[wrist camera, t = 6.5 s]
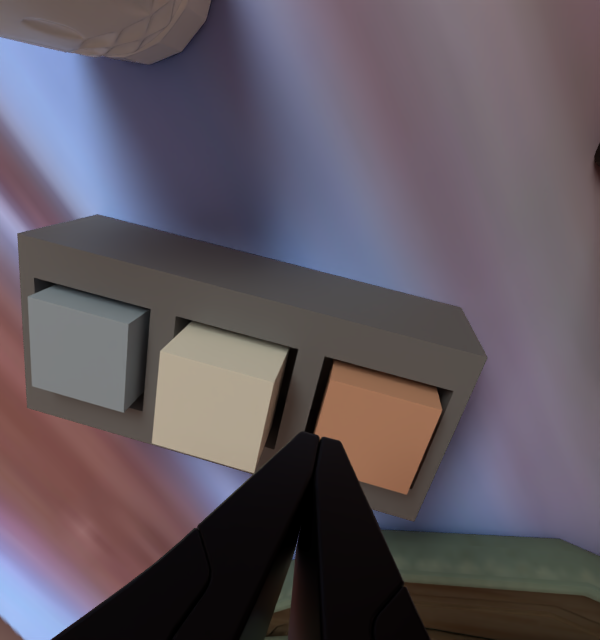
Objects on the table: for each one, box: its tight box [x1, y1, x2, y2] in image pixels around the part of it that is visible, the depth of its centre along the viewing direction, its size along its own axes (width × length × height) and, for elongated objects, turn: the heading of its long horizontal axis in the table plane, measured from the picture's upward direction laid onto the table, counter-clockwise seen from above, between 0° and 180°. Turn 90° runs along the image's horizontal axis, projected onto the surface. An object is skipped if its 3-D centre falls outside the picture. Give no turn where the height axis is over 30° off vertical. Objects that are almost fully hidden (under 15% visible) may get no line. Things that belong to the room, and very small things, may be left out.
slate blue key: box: [28, 284, 151, 413], centre depth 18 cm, size 4×4×3 cm
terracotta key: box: [313, 359, 442, 495], centre depth 17 cm, size 4×4×3 cm
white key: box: [152, 321, 290, 473], centre depth 16 cm, size 4×4×3 cm
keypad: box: [17, 214, 487, 521], centre depth 19 cm, size 18×8×5 cm, turn 78°
